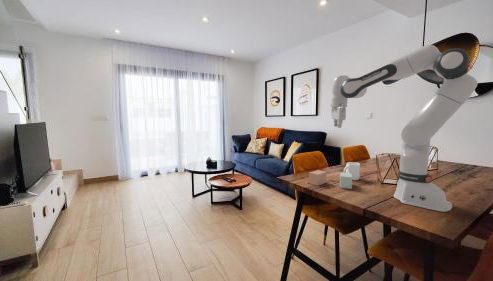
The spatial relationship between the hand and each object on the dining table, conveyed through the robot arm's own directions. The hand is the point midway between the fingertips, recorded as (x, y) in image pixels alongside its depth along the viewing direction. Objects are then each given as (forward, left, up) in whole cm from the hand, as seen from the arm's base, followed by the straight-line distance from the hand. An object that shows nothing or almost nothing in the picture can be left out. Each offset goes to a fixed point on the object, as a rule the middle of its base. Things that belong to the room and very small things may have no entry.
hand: (337, 127), depth 131 cm
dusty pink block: (+7, +8, -36) cm, 37 cm away
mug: (-2, -16, -36) cm, 39 cm away
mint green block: (-7, 0, -36) cm, 36 cm away
